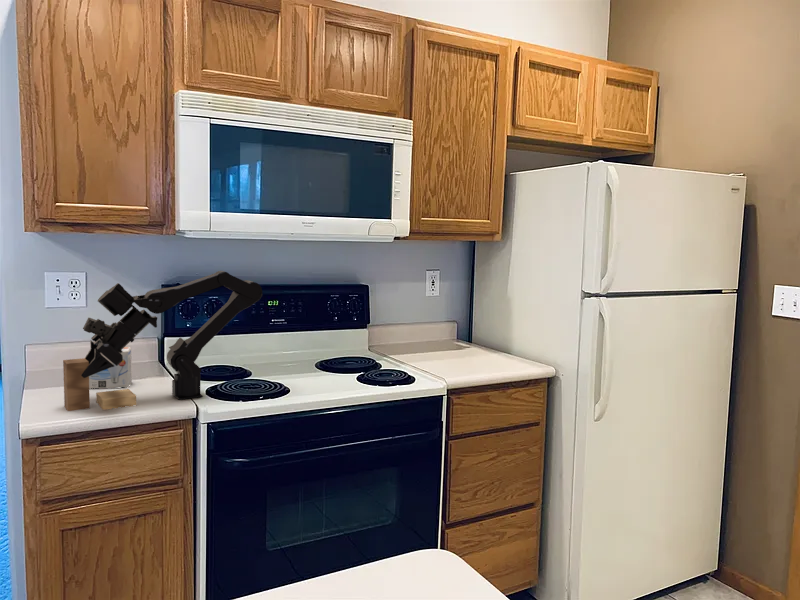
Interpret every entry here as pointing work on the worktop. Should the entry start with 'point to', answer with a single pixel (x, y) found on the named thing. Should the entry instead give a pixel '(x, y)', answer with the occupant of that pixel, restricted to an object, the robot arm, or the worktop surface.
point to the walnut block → (76, 385)
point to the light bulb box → (114, 374)
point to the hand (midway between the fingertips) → (81, 372)
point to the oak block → (115, 399)
